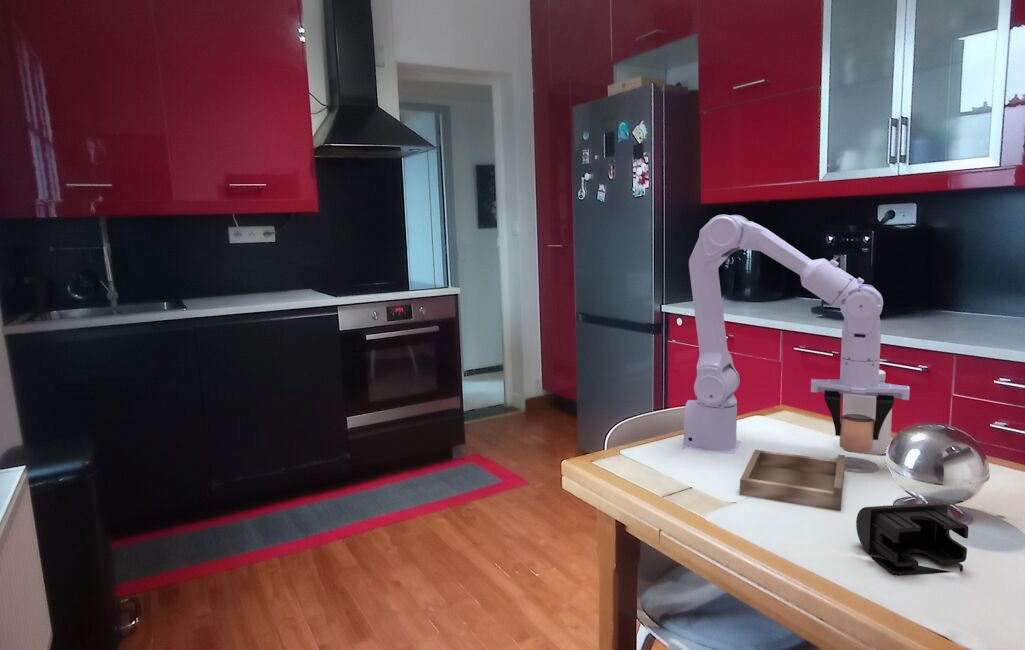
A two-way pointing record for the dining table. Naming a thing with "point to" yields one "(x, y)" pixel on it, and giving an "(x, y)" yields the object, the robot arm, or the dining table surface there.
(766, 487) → the wooden tray
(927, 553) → the end cap
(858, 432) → the pot
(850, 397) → the pill bottle
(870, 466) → the saucer
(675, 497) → the dining table surface
